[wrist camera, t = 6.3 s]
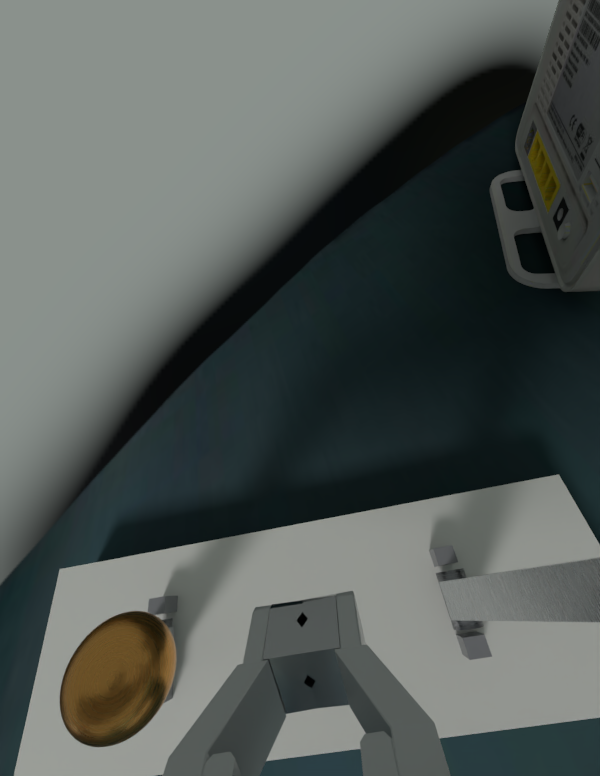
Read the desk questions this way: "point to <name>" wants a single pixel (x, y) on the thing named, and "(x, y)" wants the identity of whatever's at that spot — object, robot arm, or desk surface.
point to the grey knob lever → (524, 594)
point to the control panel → (377, 614)
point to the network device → (560, 156)
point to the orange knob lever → (118, 678)
